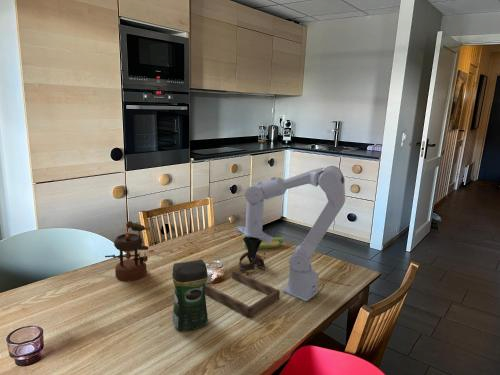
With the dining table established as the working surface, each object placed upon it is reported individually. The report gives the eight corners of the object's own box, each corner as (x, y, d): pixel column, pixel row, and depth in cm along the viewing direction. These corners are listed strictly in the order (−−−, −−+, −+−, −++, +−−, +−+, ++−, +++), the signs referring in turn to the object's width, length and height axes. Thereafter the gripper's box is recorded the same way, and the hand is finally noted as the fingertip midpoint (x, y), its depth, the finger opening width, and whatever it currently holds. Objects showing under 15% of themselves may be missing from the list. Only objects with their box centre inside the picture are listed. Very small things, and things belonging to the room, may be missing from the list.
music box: (148, 264, 137) (148, 215, 131) (153, 280, 128) (153, 228, 121) (105, 270, 131) (102, 219, 125) (106, 287, 121) (104, 232, 115)
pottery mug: (269, 276, 134) (261, 261, 129) (245, 286, 134) (237, 271, 130) (264, 255, 144) (256, 240, 140) (242, 264, 145) (234, 249, 141)
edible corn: (241, 237, 157) (245, 238, 153) (284, 235, 163) (288, 236, 159) (242, 249, 157) (245, 251, 152) (284, 247, 163) (288, 248, 159)
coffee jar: (201, 311, 109) (202, 254, 104) (210, 326, 102) (212, 266, 97) (169, 318, 105) (169, 259, 100) (176, 334, 98) (176, 271, 93)
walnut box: (279, 298, 118) (279, 290, 117) (249, 318, 107) (250, 309, 106) (233, 277, 130) (234, 270, 129) (202, 293, 119) (203, 285, 118)
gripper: (230, 216, 124) (229, 253, 128) (264, 227, 115) (261, 266, 119) (244, 212, 130) (242, 248, 133) (277, 222, 121) (274, 260, 124)
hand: (252, 256), depth 126 cm, fingers closed
